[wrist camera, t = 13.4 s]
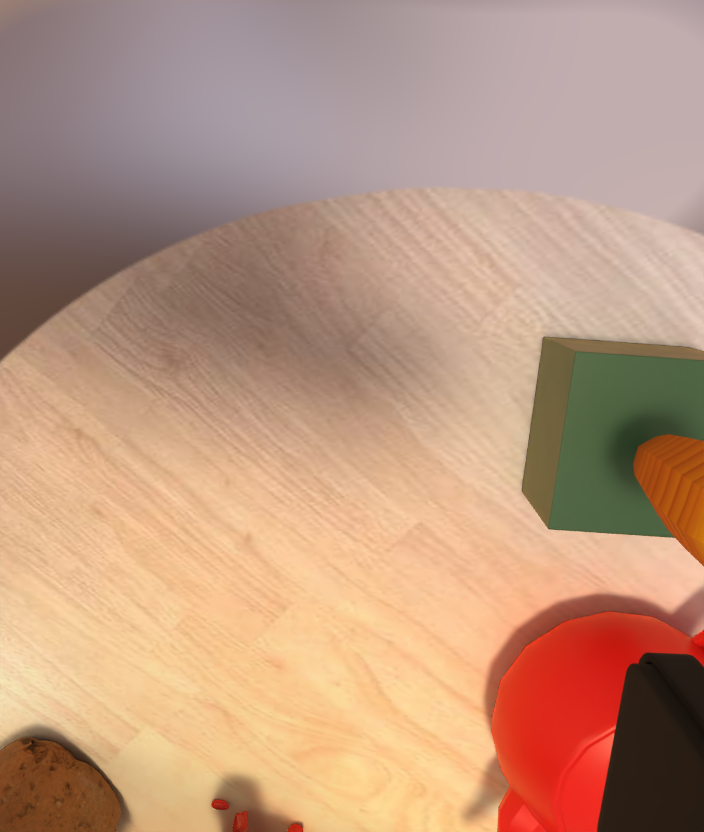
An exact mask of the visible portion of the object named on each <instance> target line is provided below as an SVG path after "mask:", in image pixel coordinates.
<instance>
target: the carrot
mask: <svg viewBox="0 0 704 832" xmlns="http://www.w3.org/2000/svg"><path fill="white" fill-rule="evenodd" d="M633 466H634V474H635V476H636V478H637V480H638V482H639V483H640V485H641V487H642V489H643V490H644V492H645V494H646V496H647V497H648V499H649V501H650V502H651V504H652V506H653V508H654V509H655V511H656V513H657V514H658V516H659V517H660V519H661V520H662V522H663V523H664V525H665V526H666V528H667V529H668V530H669V532H670V533H671V534H672V535H673V536H674V537H675V538H676V539H677V540H678V541H679V542H680V543H681V544H682V545H683V546H684V547H685V549H686V550H687V551H688V552H690V553H691V554H692V555H693V556H694V557H695V558H696V559H697V560H698V561H699V562H700V563H701V564H702V565H703V566H704V441H701V440H697V439H692V438H687V437H682V436H676V435H670V434H667V435H661V436H656V437H654V438H652V439H650V440H648V441H646V442H644V443H643V444H641V445H639V446H638V448H637V452H636V455H635V459H634V464H633Z"/></svg>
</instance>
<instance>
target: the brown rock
mask: <svg viewBox="0 0 704 832" xmlns="http://www.w3.org/2000/svg"><path fill="white" fill-rule="evenodd" d="M120 815H121V813H120V806H119V802H118V800H117V798H116V796H115V794H114V792H113V790H112V789H111V787H110V786H109V784H108V783H107V782H106V781H105V779H104V778H103V777H102V775H101V774H100V773H99V772H98V771H97V770H96V769H94V768H93V767H91V766H90V765H88V764H87V763H85V762H82V761H78V760H76V759H74V758H73V756H72V754H71V752H70V751H68V750H66V749H65V748H63V747H62V746H60V745H59V744H58V743H55V742H51V741H48V740H44V741H40V740H37V739H35V738H31V737H23V738H21V739H19V740H17V741H15V742H13V743H11V744H9V745H7V746H6V747H5V748H4V749H2V750H1V751H0V832H116V823H117V822H118V820H119V818H120Z"/></svg>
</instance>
